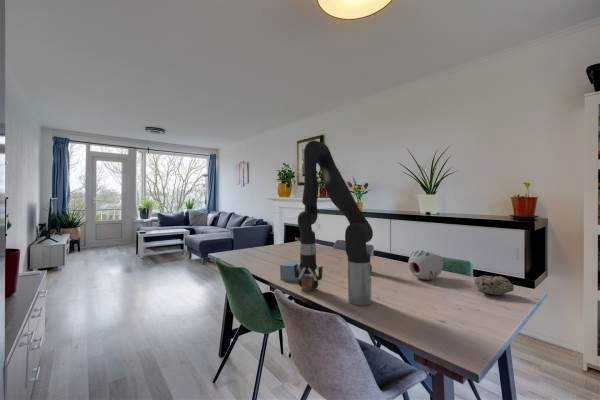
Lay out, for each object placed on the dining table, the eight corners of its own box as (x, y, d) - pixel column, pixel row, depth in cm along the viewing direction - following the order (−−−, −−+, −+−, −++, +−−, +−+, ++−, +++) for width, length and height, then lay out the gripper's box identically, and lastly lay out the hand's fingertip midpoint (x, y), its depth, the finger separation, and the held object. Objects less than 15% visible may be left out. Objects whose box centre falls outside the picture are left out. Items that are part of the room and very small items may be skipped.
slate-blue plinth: (309, 275, 152) (308, 261, 152) (301, 282, 141) (301, 266, 140) (289, 273, 156) (289, 259, 156) (280, 280, 145) (280, 265, 145)
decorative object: (453, 280, 139) (453, 251, 139) (425, 285, 132) (425, 254, 132) (429, 272, 154) (428, 245, 153) (402, 276, 147) (402, 248, 146)
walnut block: (315, 288, 131) (315, 275, 131) (311, 291, 126) (311, 279, 126) (305, 287, 133) (305, 275, 133) (301, 290, 128) (301, 278, 128)
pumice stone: (511, 293, 121) (511, 275, 121) (515, 302, 111) (515, 282, 110) (473, 287, 128) (473, 271, 128) (474, 296, 118) (474, 278, 117)
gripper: (291, 253, 128) (291, 288, 129) (320, 255, 123) (320, 291, 124) (296, 250, 135) (297, 283, 136) (324, 251, 130) (325, 286, 131)
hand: (308, 287), depth 130 cm, fingers open, 6 cm apart
